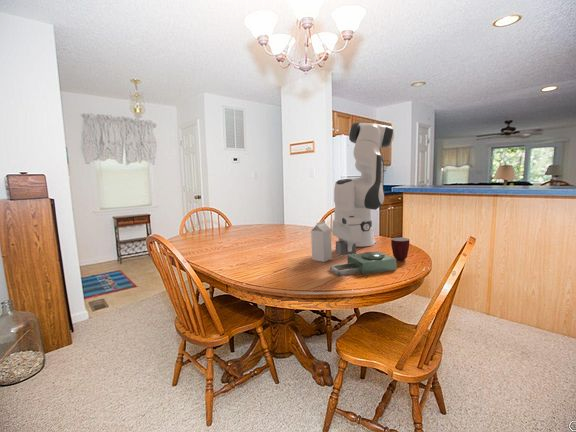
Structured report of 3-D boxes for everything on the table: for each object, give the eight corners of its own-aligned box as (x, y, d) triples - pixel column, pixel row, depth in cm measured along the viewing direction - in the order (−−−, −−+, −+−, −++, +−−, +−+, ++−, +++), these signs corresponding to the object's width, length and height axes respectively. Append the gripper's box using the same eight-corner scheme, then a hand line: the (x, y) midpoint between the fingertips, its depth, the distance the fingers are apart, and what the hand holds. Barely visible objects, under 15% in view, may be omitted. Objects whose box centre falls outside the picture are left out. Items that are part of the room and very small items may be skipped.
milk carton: (331, 258, 151) (330, 221, 149) (324, 262, 146) (323, 223, 143) (319, 256, 156) (318, 220, 153) (312, 260, 150) (310, 222, 148)
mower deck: (327, 268, 137) (327, 255, 136) (378, 261, 143) (378, 249, 143) (340, 278, 123) (340, 264, 123) (396, 269, 130) (396, 256, 129)
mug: (411, 264, 137) (411, 242, 136) (392, 263, 139) (392, 242, 138) (407, 257, 147) (408, 237, 146) (390, 257, 149) (390, 237, 148)
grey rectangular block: (335, 252, 132) (335, 241, 131) (350, 251, 133) (350, 239, 133) (340, 255, 127) (340, 243, 126) (355, 253, 129) (355, 242, 128)
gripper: (328, 215, 137) (329, 245, 139) (349, 221, 118) (350, 256, 119) (341, 214, 139) (341, 243, 141) (363, 220, 119) (364, 254, 121)
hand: (345, 249), depth 130 cm, fingers closed on grey rectangular block, 5 cm apart
